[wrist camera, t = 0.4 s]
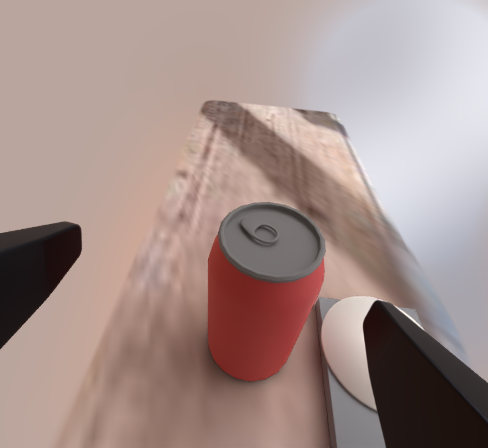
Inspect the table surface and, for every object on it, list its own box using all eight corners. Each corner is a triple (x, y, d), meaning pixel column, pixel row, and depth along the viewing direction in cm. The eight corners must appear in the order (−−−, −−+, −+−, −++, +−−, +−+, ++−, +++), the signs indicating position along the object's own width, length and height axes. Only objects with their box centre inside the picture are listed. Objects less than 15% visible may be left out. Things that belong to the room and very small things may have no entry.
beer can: (240, 290, 26) (255, 182, 18) (303, 332, 24) (355, 230, 15) (190, 346, 22) (179, 239, 14) (260, 405, 19) (299, 318, 11)
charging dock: (553, 693, 12) (585, 708, 11) (349, 665, 12) (361, 678, 11) (409, 311, 26) (417, 302, 25) (312, 299, 26) (316, 289, 25)
